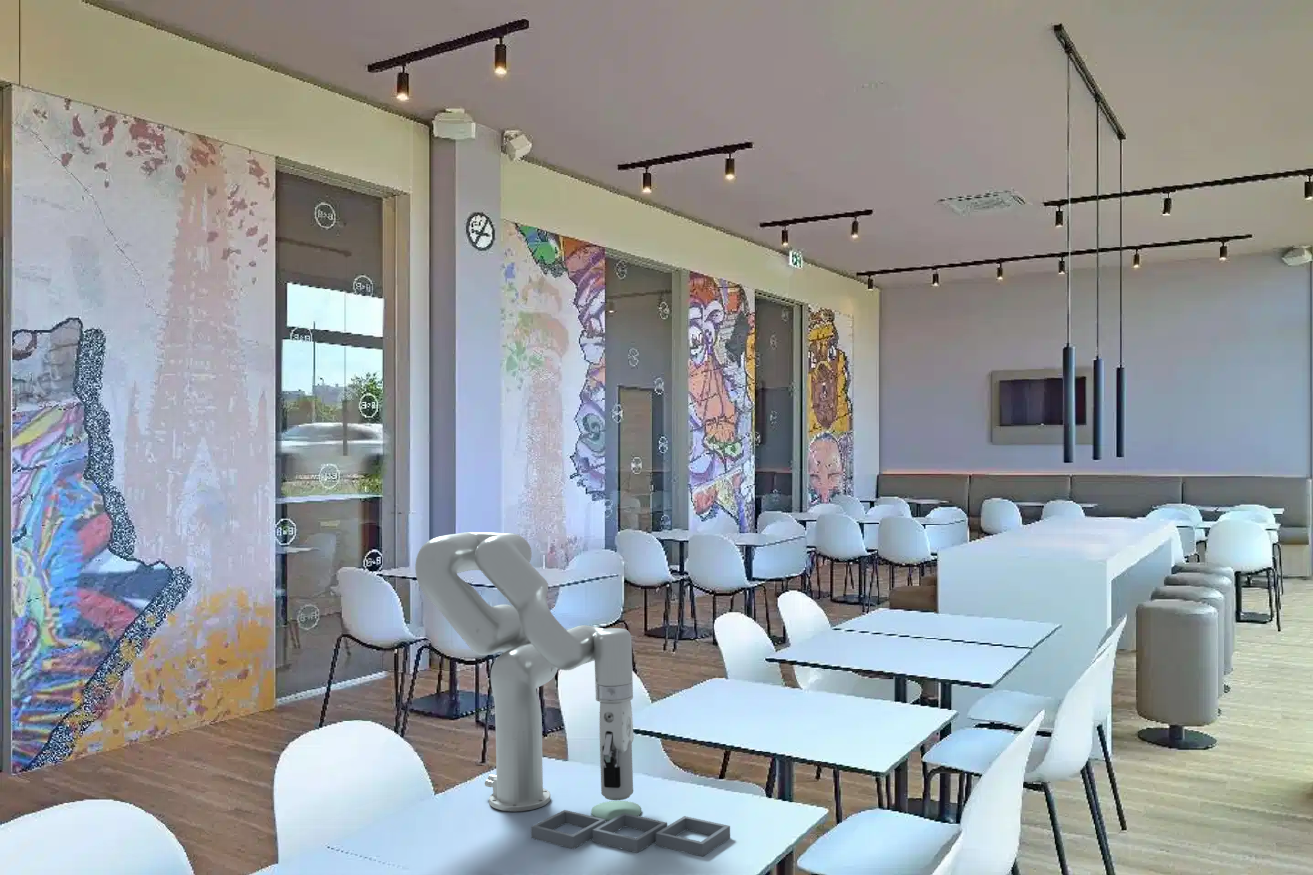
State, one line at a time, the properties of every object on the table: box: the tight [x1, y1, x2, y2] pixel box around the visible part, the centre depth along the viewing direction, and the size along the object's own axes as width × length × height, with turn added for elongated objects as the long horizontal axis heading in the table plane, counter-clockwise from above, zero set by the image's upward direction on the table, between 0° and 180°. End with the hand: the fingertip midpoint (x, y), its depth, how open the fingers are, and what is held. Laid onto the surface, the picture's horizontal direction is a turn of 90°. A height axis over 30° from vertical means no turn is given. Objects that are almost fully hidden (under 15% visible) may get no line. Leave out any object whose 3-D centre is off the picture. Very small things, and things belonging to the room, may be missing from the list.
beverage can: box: [599, 740, 634, 801], centre depth 198 cm, size 6×6×12 cm
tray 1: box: [530, 809, 607, 850], centre depth 187 cm, size 10×10×2 cm
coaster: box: [590, 800, 642, 822], centre depth 198 cm, size 10×10×1 cm
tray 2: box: [592, 813, 668, 853], centre depth 185 cm, size 10×10×2 cm
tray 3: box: [655, 815, 731, 857], centre depth 183 cm, size 10×10×2 cm
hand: (616, 780), depth 198 cm, fingers closed on beverage can, 6 cm apart
